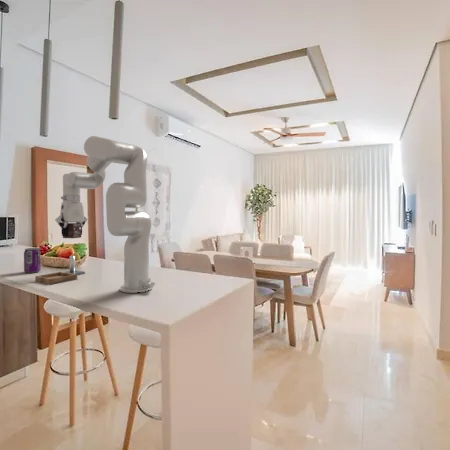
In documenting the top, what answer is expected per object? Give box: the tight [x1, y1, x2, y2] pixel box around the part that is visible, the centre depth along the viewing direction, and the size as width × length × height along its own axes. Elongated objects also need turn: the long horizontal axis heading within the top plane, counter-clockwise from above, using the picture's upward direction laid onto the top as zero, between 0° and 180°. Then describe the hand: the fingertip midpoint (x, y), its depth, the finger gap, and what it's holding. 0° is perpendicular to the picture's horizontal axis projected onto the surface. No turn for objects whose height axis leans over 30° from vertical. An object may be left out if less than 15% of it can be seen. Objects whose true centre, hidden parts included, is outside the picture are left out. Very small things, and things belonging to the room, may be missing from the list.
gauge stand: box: [64, 255, 86, 276], centre depth 152 cm, size 8×8×9 cm
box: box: [62, 222, 82, 239], centre depth 151 cm, size 6×6×7 cm
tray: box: [34, 271, 78, 285], centre depth 138 cm, size 12×12×2 cm
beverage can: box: [23, 247, 42, 274], centre depth 155 cm, size 7×7×12 cm
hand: (72, 235), depth 151 cm, fingers closed on box, 7 cm apart
